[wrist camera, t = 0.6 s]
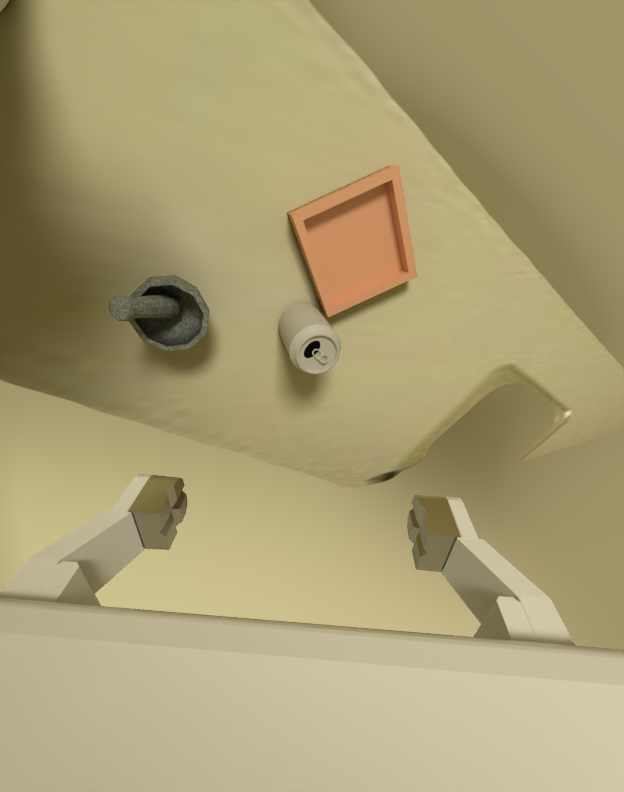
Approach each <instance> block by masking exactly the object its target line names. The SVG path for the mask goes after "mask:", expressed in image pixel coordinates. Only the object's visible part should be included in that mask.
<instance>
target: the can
mask: <svg viewBox="0 0 624 792" xmlns="http://www.w3.org/2000/svg"><path fill="white" fill-rule="evenodd" d="M278 327H279V333H280V336H281V338H282V340H283V343H284V345H285V347H286V350H287V352H288V354H289V357H290V359H291V361H292V363H293V365H294V366H295V367H297V368H298V369H299V370H301V371H303V372H305V373H309V374H321V373H324V372H326V371H328V370H330V369H331V368H332V367H333V366H334V365H335V363H336V362H337V360H338V358H339V354H340V350H341V342H340V339H339V337H338V334H337V333H336V332H335V331H334V329H333V328H332V327H331V325H330V324H329V323H328V322H327V320H326V319H325V318H324V317H323V315H322V314H321V313H320V312H319V310H318V309H317V308H316V307H314V306H312V305H310V304H306V303H299V304H294V305H292V306H290V307H288V308H287V309H286V310H285V311H284V312H283V314H282V316H281V317H280V320H279V325H278Z"/></svg>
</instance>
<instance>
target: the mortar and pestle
mask: <svg viewBox="0 0 624 792" xmlns="http://www.w3.org/2000/svg"><path fill="white" fill-rule="evenodd" d="M109 310H110V312H111V315H112V316H113V317H114V318H116V319H117V320H118V321H129V322H130V324H131V325H132V326H133V328H134V329H135V330H136V332H137V333H138V335H139V336H140V337H141V339H142V340H143V341H144V342H146V343H148V344H151V345H153V346H155V347H158V348H160V349H162V350H165V351H175V350H183V349H190V348H191V347H192V346H194V345H195V344H196V343H197V342H198V341H199V340H200V339H201V338H203V337H204V336H205V335H206V331H207V324H208V317H209V309H208V307H207V305H206V303H205V301H204V300H203V298H202V296H201V294H200V292H199V291H198V289H197V287H196V286H194V285H192V284H190V283H188V282H186V281H185V280H183V279H181V278H179V277H177V276H175V275H171V276H159V277H150V278H148V279H147V280H146V281H145V282H144V283H143V284H142V285H141V286H140V287H139V288H138V289H137V290H136V291H135V292H134V293H133V294H132V295H131V296H130V298H126V297H125V296H114V297H113V299H112V300H111V301H110V302H109Z"/></svg>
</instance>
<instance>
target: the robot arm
mask: <svg viewBox="0 0 624 792" xmlns="http://www.w3.org/2000/svg"><path fill="white" fill-rule="evenodd" d="M8 2H9V0H0V12H1V11H2V10H3V9H4V7H5V6H6V5H7V3H8ZM183 487H184V482H183V479H182V478H177V477H166V476H157V475H144V474H138V475H137V476H135V477H134V478H133V480H132V481H131V483H130V484H129V486H128V487H127V489H126V490H125V491H124V493H123V494H122V496H121V497H120V498H119V500H118V501H117V503H116V504H115V506H114V507H113V508H112V510H111V511H105V512H103V513H102V514H100V515H98V516H97V517H95V518H93V519H92V520H90V521H88V522H87V523H85V524H83V525H82V526H80V527H78V528H77V529H75V530H74V531H72V532H70V533H68V534H67V535H65V536H64V537H62V538H60V539H59V540H57V541H55V542H54V543H52V544H50V545H49V546H47V547H45V548H44V549H42V550H40V551H39V552H37V553H35V554H34V555H32V556H30V557H29V559H28V560H27V561H26V562H25V563H24V565H23V566H22V567H21V568H20V570H19V571H18V572H17V573H16V574H15V575H14V576H13V578H12V579H11V580H10V581H9V582H8V584H7V585H6V586H5V587H4V588H3V590H2V591H1V592H0V792H624V650H621V649H609V648H597V647H585V646H575V645H574V643H573V641H572V639H571V637H570V635H569V633H568V631H567V629H566V627H565V626H564V624H563V622H562V620H561V618H560V616H559V614H558V613H557V611H556V609H555V607H554V605H553V603H552V601H551V599H550V598H549V597H547V596H546V595H545V594H544V593H543V592H542V591H541V590H539V589H538V588H537V587H536V586H535V585H534V584H533V583H532V582H530V581H529V580H528V579H527V578H526V577H525V576H524V575H522V574H521V573H520V572H519V571H518V570H517V569H516V568H514V566H512V565H511V564H510V563H509V562H508V561H507V560H506V559H504V558H503V557H502V556H501V555H500V554H499V553H498V552H497V551H495V550H494V549H493V548H492V547H491V546H490V545H489V544H488V543H486V542H485V541H484V540H483V539H478V537H477V534H476V532H475V530H474V528H473V525H472V523H471V520H470V518H469V516H468V513H467V511H466V508H465V506H464V504H463V502H462V500H461V499H460V498H454V497H440V496H423V495H415V496H414V498H413V501H412V504H413V509H412V510H411V511H410V512H409V515H408V525H407V527H408V534H409V539H410V540H411V541H412V542H413V543H414V546H413V549H412V553H413V557H414V562H415V566H416V569H419V570H428V571H438V572H442V574H443V576H444V577H445V578H446V579H447V581H448V582H449V583H450V585H451V586H452V587H453V588H454V590H455V591H456V592H457V594H458V595H459V596H460V597H461V598H462V600H463V601H464V602H465V604H466V605H467V606H468V608H469V609H470V610H471V611H472V613H473V614H474V615H475V616H476V618H477V619H478V620H479V622H480V623H481V626H480V627H479V629H478V631H477V632H476V634H475V635H474V637H465V636H453V635H440V634H429V633H417V632H405V631H393V630H381V629H369V628H357V627H345V626H332V625H321V624H309V623H298V622H285V621H273V620H260V619H248V618H237V617H223V616H213V615H200V614H189V613H176V612H164V611H153V610H140V609H129V608H117V607H116V608H115V607H104V606H101V605H100V603H99V601H98V599H97V598H96V596H95V593H96V592H97V591H98V590H99V589H100V588H102V587H103V586H104V585H105V584H106V583H107V582H108V581H110V580H111V579H112V578H113V577H114V576H115V575H116V574H117V573H119V572H120V571H121V570H122V569H123V568H124V567H125V566H126V565H127V564H129V563H130V562H131V561H132V560H133V559H134V558H136V557H137V556H138V555H139V554H140V553H141V552H142V551H143V550H144V548H147V549H166V550H168V549H170V547H171V545H172V542H173V540H174V538H175V536H176V534H177V530H176V526H177V525H178V524H179V523H181V522H182V520H183V518H184V516H185V513H186V509H187V496H186V494H185V493H184V492H183V491H182V489H183Z"/></svg>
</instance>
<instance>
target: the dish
mask: <svg viewBox="0 0 624 792" xmlns="http://www.w3.org/2000/svg"><path fill="white" fill-rule="evenodd" d="M288 216H289V219H290V221H291V224H292V227H293V230H294V232H295V235H296V238H297V241H298V243H299V246H300V249H301V252H302V255H303V257H304V260H305V263H306V266H307V268H308V271H309V274H310V277H311V279H312V282H313V285H314V288H315V290H316V293H317V296H318V299H319V301H320V304H321V307H322V310H323V312H324V313H325V314H326V315H327V317H330V316H333V315H335V314H337V313H339V312H341V311H343V310H346V309H348V308H350V307H352V306H354V305H357V304H359V303H361V302H363V301H365V300H367V299H370V298H372V297H374V296H376V295H378V294H380V293H383V292H385V291H387V290H389V289H391V288H394V287H396V286H398V285H400V284H402V283H404V282H407V281H409V280H411V279H413V278H415V277H417V273H416V267H415V261H414V255H413V249H412V243H411V237H410V231H409V225H408V219H407V213H406V207H405V201H404V195H403V189H402V183H401V177H400V171H399V166H388V167H385V168H383V169H381V170H379V171H377V172H375V173H372V174H370V175H368V176H366V177H364V178H362V179H359V180H357V181H355V182H353V183H351V184H349V185H346V186H344V187H342V188H340V189H338V190H336V191H333V192H331V193H329V194H327V195H325V196H322V197H320V198H318V199H316V200H314V201H312V202H309V203H307V204H305V205H303V206H301V207H299V208H296V209H294V210H292V211H290V212H288Z"/></svg>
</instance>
